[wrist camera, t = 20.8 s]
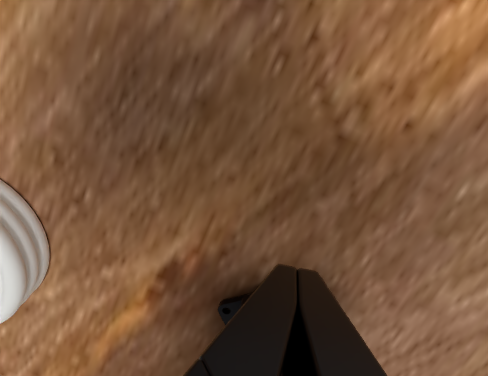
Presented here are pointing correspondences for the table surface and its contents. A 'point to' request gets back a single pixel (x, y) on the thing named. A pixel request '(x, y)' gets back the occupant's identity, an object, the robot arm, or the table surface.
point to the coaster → (19, 251)
